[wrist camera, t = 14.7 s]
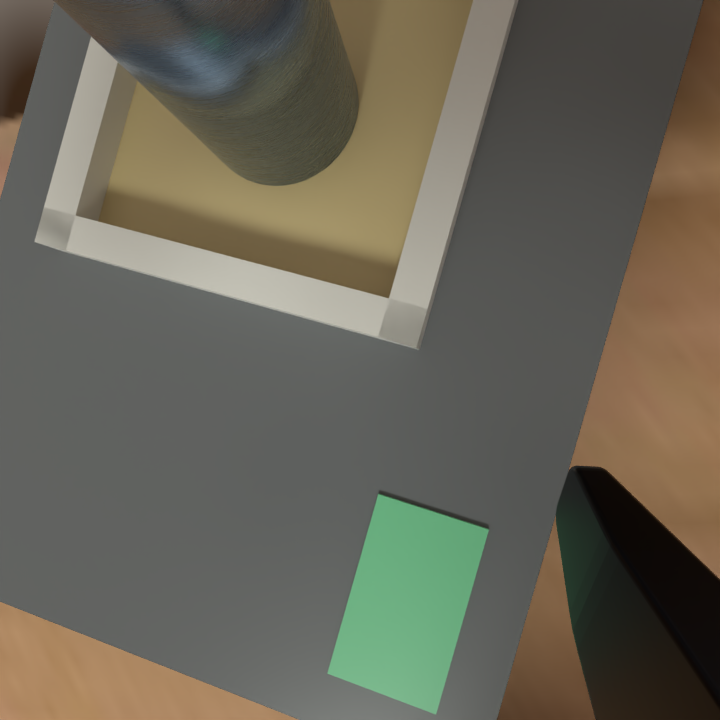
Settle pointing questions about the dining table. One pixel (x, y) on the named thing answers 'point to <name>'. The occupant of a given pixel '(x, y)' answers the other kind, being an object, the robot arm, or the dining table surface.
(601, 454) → the dining table surface
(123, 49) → the cell
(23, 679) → the dining table surface
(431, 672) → the tester board
